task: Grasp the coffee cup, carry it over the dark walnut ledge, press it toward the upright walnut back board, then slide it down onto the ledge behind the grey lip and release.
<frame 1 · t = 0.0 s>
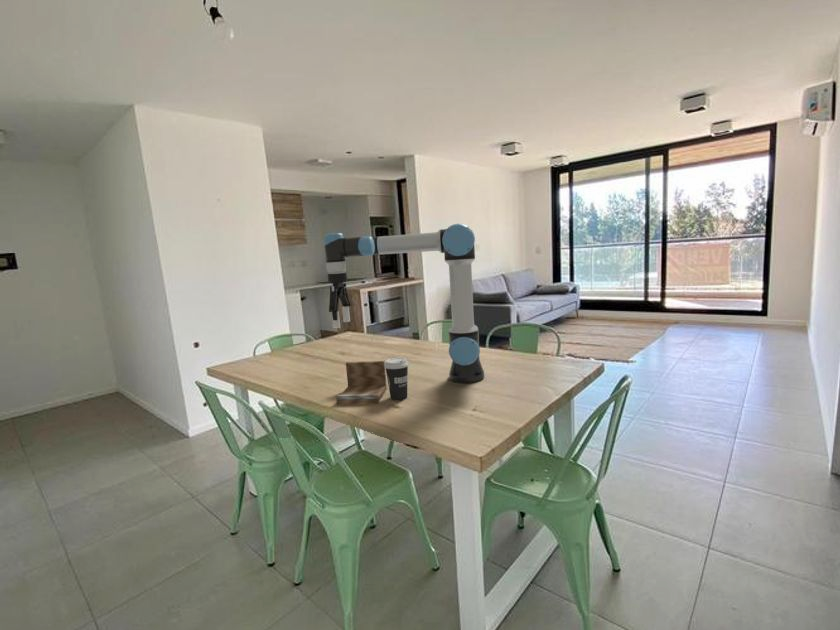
hand: (342, 324, 173), 28 cm above the table, fingers open, 13 cm apart
coffee cup: (399, 398, 165), on the table
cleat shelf: (363, 395, 169), on the table
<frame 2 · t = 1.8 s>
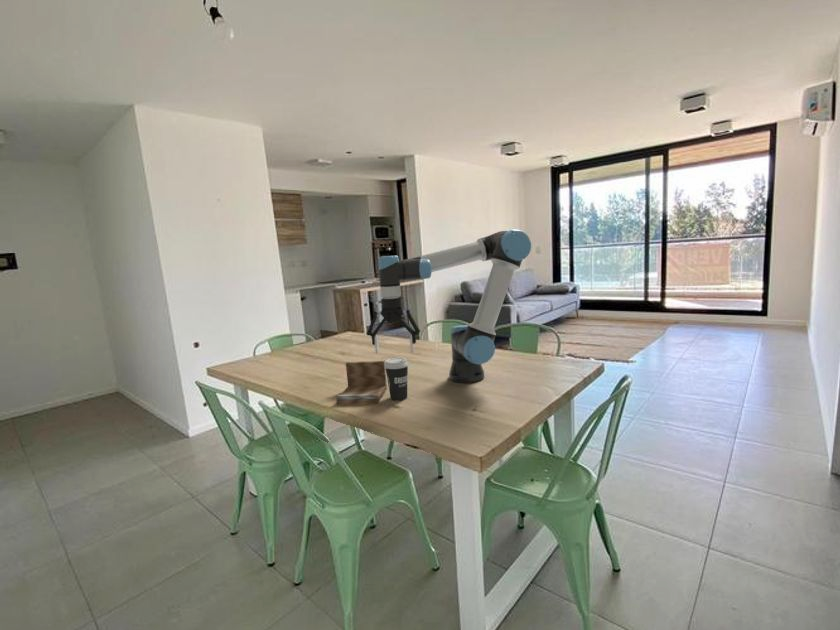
hand: (394, 352, 162), 18 cm above the table, fingers open, 13 cm apart
nothing on the table moved.
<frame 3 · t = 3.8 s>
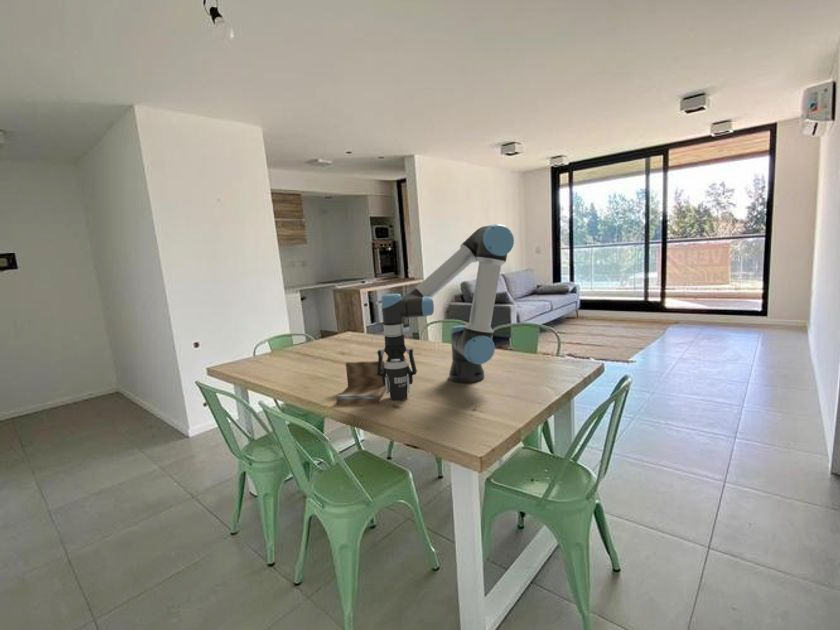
hand: (398, 392, 164), 2 cm above the table, fingers closed on coffee cup, 8 cm apart
coffee cup: (399, 398, 165), on the table, touching gripper
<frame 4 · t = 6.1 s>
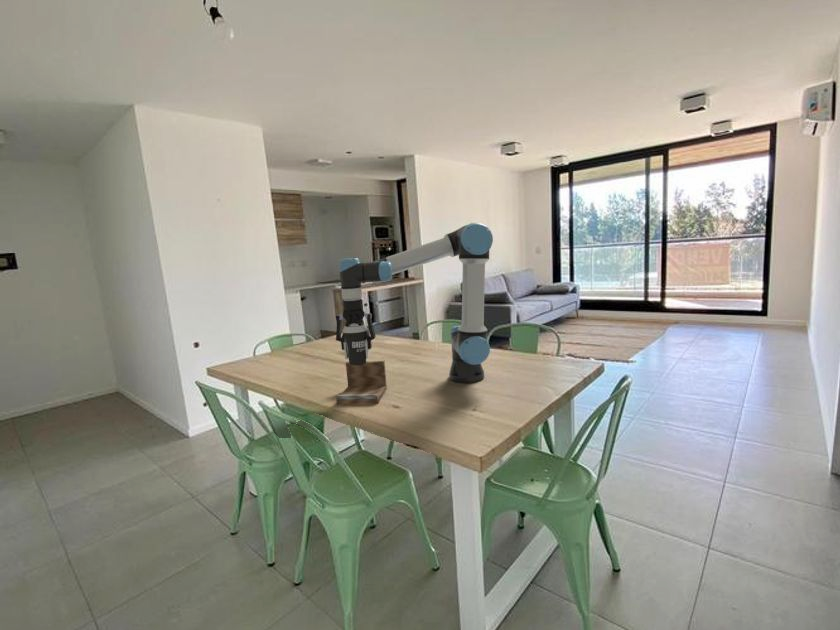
hand: (357, 357, 164), 17 cm above the table, fingers closed on coffee cup, 8 cm apart
coffee cup: (357, 363, 164), point 14 cm above the table, touching gripper
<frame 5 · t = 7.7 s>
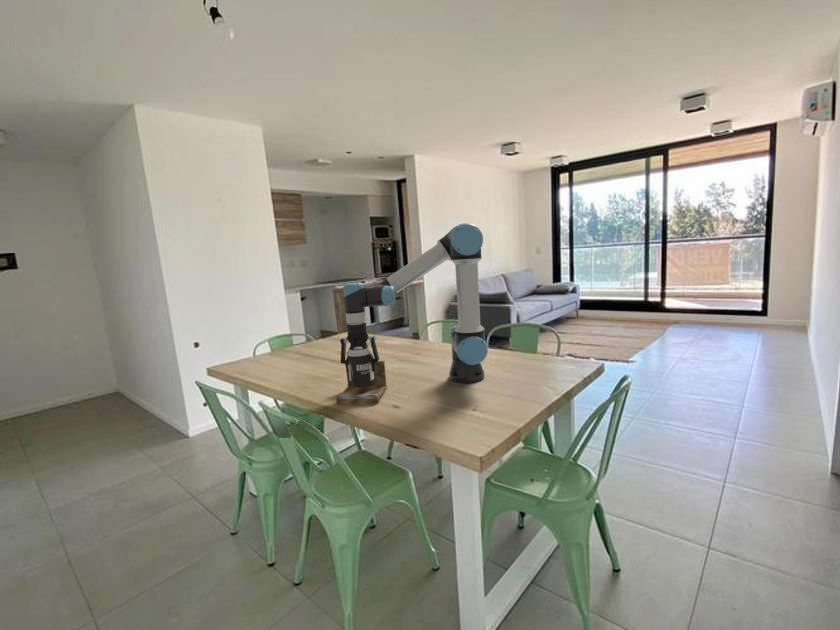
hand: (361, 379, 168), 7 cm above the table, fingers closed on coffee cup, 8 cm apart
coffee cup: (362, 385, 168), point 5 cm above the table, touching gripper
when the fingers open (5 cm above the table, at t = 8.9 s): coffee cup stays where it is, resting on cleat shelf.
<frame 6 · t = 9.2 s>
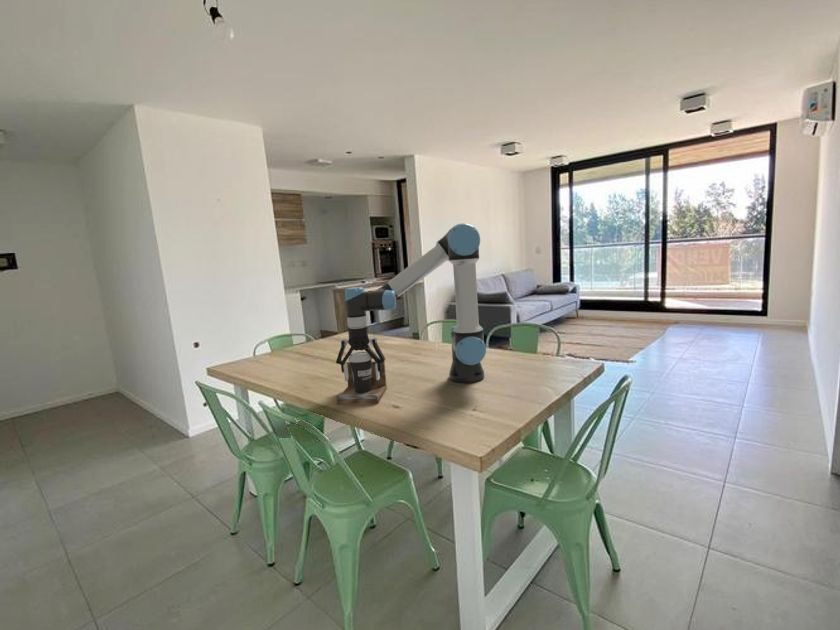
hand: (362, 379, 169), 6 cm above the table, fingers open, 12 cm apart
coffee cup: (363, 390, 170), point 2 cm above the table, touching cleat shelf
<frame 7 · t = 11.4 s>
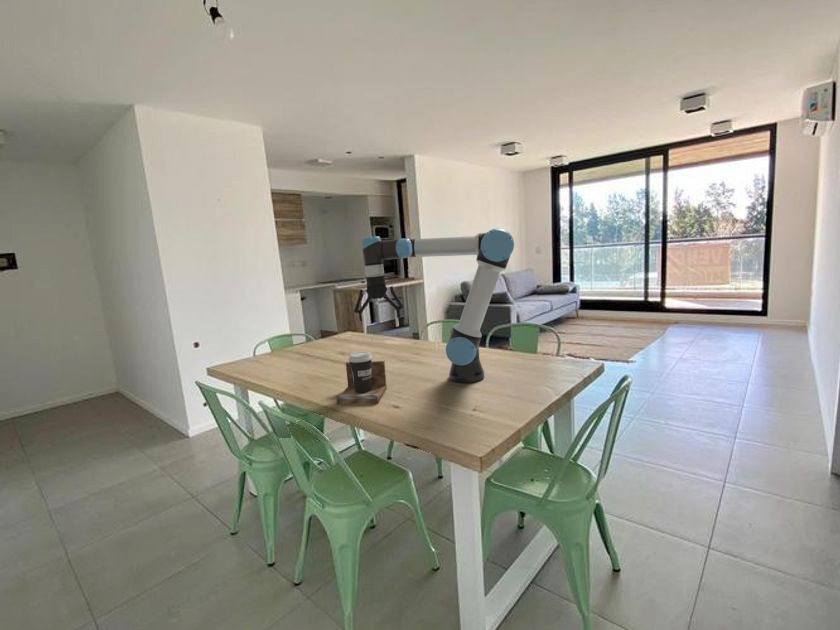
hand: (381, 327, 173), 26 cm above the table, fingers open, 13 cm apart
nothing on the table moved.
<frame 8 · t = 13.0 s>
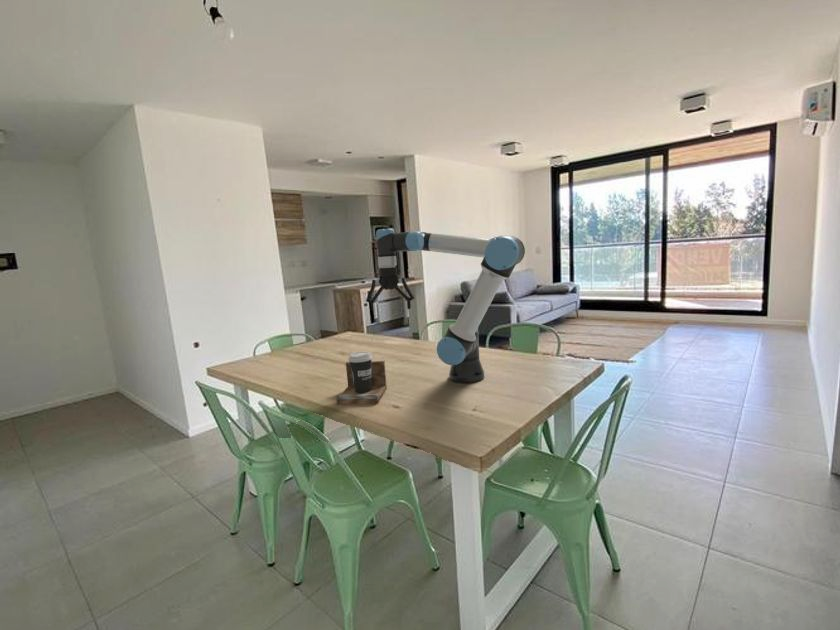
hand: (391, 317, 178), 29 cm above the table, fingers open, 13 cm apart
nothing on the table moved.
at the end: coffee cup inside the target area (0.7 cm from its centre), point 1.8 cm above the table; coffee cup tilted 0°; the gripper is holding nothing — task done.
